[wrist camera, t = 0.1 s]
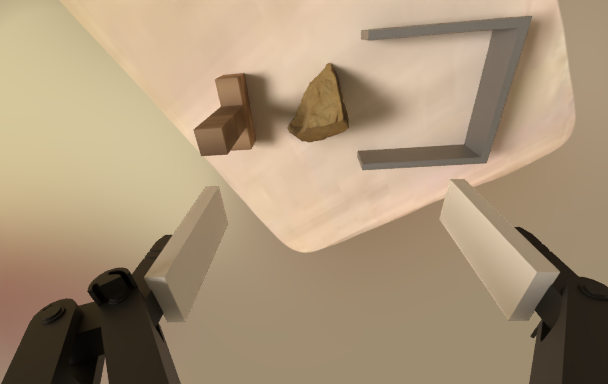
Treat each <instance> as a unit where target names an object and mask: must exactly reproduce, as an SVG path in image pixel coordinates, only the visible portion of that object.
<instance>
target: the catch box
mask: <svg viewBox="0 0 608 384" xmlns="http://www.w3.org/2000/svg"><path fill="white" fill-rule="evenodd" d="M531 19H532V16H524V17H509V18H497V19H486V20H474V21H463V22H452V23H440V24H429V25H418V26H406V27H395V28H383V29H372V30H361V39H363V40H378V39H389V38H401V37H413V36H424V35H436V34H448V33H459V32H471V31H483V30H493V33H492V37H491V41H490V45H489V49H488V53H487V57H486V61H485V65H484V69H483V73H482V77H481V81H480V84H479V88H478V92H477V96H476V100H475V104H474V108H473V112H472V116H471V120H470V124H469V128H468V132H467V136H466V140H465V144H464V145H450V146H433V147H417V148H401V149H384V150H368V151H358V156H357V157H358V160H359V162H360V165H361V168H362V170H375V169H393V168H410V167H428V166H446V165H463V164H481V163H487V160H488V157H489V154H490V151H491V147H492V144H493V141H494V138H495V135H496V131H497V128H498V125H499V122H500V119H501V115H502V112H503V109H504V106H505V102H506V99H507V96H508V93H509V90H510V86H511V83H512V80H513V77H514V74H515V70H516V67H517V64H518V61H519V57H520V54H521V51H522V48H523V45H524V41H525V38H526V35H527V32H528V29H529V25H530V22H531Z"/></svg>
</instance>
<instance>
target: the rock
mask: <svg viewBox="0 0 608 384" xmlns="http://www.w3.org/2000/svg"><path fill="white" fill-rule="evenodd" d="M348 128H349V125H348V114H347V111H346V107H345V104H344V103H343V96H342V92H341V87H340V83H339V79H338V76H337V73H336V71H335V70H334V68H333V67H332V65H331V64H330V63H328V64H327V65H326V67H325V69H324V70H323V71H322V72H321V73H320V74H319V75H318V76H317V77H316V78H315V79H314V80H313V81H312V82H310V84H309V86H308V88H307V90H306V92H305V93H304V96H303V98H302V103H301V104H300V107H299V108H298V110H297V114H296V117H295V119H293V121H292V122H291V123H290V124H289V126H288V130H289V132H290V133H292V134H293V135H294V136H296V137H297V138H298V139H300V140H301V141H307V142H313V141H318V140H324V139H325V138H327V137H330V136H333V135H336V134H339V133H341V132H344V131H345V130H346V129H348Z"/></svg>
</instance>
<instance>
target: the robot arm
mask: <svg viewBox="0 0 608 384" xmlns="http://www.w3.org/2000/svg"><path fill="white" fill-rule="evenodd" d="M440 220H441V222H442V224H443V225H444V227H445V228H446V230H447V231H448V233H449V234H450V235H451V237H452V238H453V239H454V241H455V243H456V244H457V246H458V247H459V248H460V250H461V251H462V253H463V254H464V256H465V257H466V259H467V260H468V262H469V263H470V265H471V266H472V268H473V269H474V271H475V272H476V274H477V275H478V277H479V278H480V279H481V281H482V282H483V284H484V285H485V287H486V288H487V290H488V291H489V293H490V294H491V296H492V297H493V298H494V300H495V302H496V303H497V304H498V306H499V307H500V309H501V310H502V312H503V313H504V314H505V316H506V318H507V319H508V320H509V321H516V320H517V321H518V320H519V321H520V320H521V321H523V320H524V321H526V320H529V319H530V317H531V316H532V314H533V313H534V311H536V312H537V314H538V315H539V316H540V317H541V319H542V320H541V321H540V323H539V324H538V326H537V327H536V329H535V330H534V331H533V333H532V335H531V337H532V338H534V337H535V336H536V335H537V336H536V344H535V350H534V356H533V363H532V369H531V376H530V383H529V384H608V287H607V286H605V285H604V284H602V283H599V282H597V281H595V280H592V279H589V278H585V277H579V276H577V275H576V274H575V273H574V272H573V271H572V270H571V269H570V268H569V267H568V266H566V265H565V264H564V263H563V262H562V261H561V260H560V259H559V258H558V257H557V256H556V255H554V254H553V253H552V252H550V251H549V249H548V248H547V247H546V246H545V245H543V244H542V243H541V242H540V241H539V240H538V239H537V238H536V237H535V236H534V235H533V234H531V233H529V232H527V231H526V230H524V229H522V228H520V227H513V226H512V225H511V224H510V223H509V222H508V221H507V220H506V219H505V218H504V217H503V216H502V215H501V214H500V213H498V211H497V210H496V209H494V207H493V206H491V204H489V203H488V202H487V201H486V200H485V199H484V198H483V197H482V196H481V195H480V194H479V193H478V192H477V191H476V190H475V189H474V188H473V187H472V186H471V185H470V184H469V183H468V182H467V181H466V180H465V179H451V180H450V182H449V186H448V189H447V193H446V197H445V200H444V204H443V208H442V212H441V215H440ZM227 225H228V221H227V217H226V213H225V209H224V206H223V201H222V197H221V193H220V189H219V186H210V187H205V189H204V190H203V192H202V193H201V194H200V196H199V197H198V199H197V200H196V202H195V203H194V205H193V206H192V208H191V209H190V211H189V212H188V213H187V215H186V217H185V218H184V220H183V221H182V222H181V224H180V225H179V227H178V228H177V230H176V231H175V232H174V234H173V235H165V236H163V237H162V238H161V239H159V240H158V241H157V242H156V243H155V244H154V245H153V247H152V248H151V249H150V252H148V253H147V255H146V256H145V259H143V260H142V262H141V263H140V264H139V265H138V267H137V268H136V270H135V271H134V272H133V274H132V275H131V273H130V271H129V270H128V269H126V268H115V269H111V270H108V271H106V272H104V273H102V274H101V275H99V276H98V277H97V278H95V279H94V280H93V281H92V283H91V284H90V285H89V287H88V293H89V294H90V296H91V297H92V299H93V300H94V301H95V302H91V303H88V304H84V305H80V306H78V305H77V303H76V302H75V301H74V300H73V299H62V300H58V301H56V302H53V303H51V304H49V305H48V306H46V307H44V308H43V309H41V310H40V311H39V312H38V313H37V314H36V315H35V316H34V317H33V319H32V320H31V321H30V323H29V325H28V327H27V330H26V332H25V334H24V336H23V338H22V340H21V342H20V345H19V347H18V349H17V351H16V353H15V355H14V358H13V360H12V362H11V364H10V366H9V368H8V370H7V372H6V375H5V377H4V379H3V381H2V383H1V384H100V382H101V377H102V371H103V365H104V360H105V359H106V365H107V373H108V380H109V384H181V383H180V380H179V378H178V375H177V372H176V369H175V366H174V363H173V360H172V358H171V355H170V352H169V349H168V346H167V343H166V341H165V338H164V335H163V332H162V329H161V327H160V325H159V321H160V319H161V317H162V315H164V316H165V318H166V320H167V322H186V319H187V317H188V315H189V312H190V310H191V308H192V306H193V303H194V301H195V299H196V296H197V294H198V292H199V290H200V287H201V285H202V283H203V280H204V278H205V276H206V273H207V271H208V269H209V266H210V264H211V262H212V260H213V257H214V255H215V252H216V250H217V248H218V245H219V244H220V241H221V239H222V237H223V234H224V232H225V230H226V227H227Z"/></svg>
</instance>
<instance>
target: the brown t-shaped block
mask: <svg viewBox="0 0 608 384" xmlns="http://www.w3.org/2000/svg"><path fill="white" fill-rule="evenodd" d="M215 82H216V87H217V91H218V95H219V99H220V104H221V107H220V108H219V109H218V110H217V111H215V112H214V113H213V114H212V115H211V116H209V117H208V118H207V119H206V120H205V121H203V122H202V123H201V124H200V125H199V126H197V127H196V128H195V129H194V133H195V137H196V140H197V143H198V147H199V150H200V153H201V156H211V155H227V154H228V153H229V152H230V150H231V151H234V150H250V149H252V147H253V145H254V143H255V141H256V138H255V132H254V127H253V121H252V116H251V110H250V104H249V99H248V93H247V88H246V82H245V76H244V73H242V74H230V75H223V76H221V77H219V78H217V79H215Z"/></svg>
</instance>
